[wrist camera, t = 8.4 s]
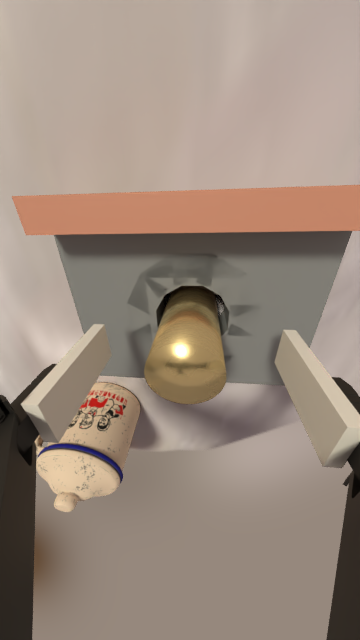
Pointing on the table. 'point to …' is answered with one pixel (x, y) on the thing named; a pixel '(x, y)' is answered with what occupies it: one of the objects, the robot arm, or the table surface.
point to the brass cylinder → (187, 349)
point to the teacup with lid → (90, 447)
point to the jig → (200, 263)
